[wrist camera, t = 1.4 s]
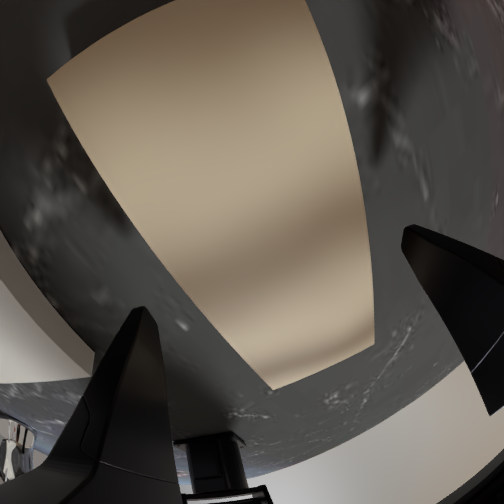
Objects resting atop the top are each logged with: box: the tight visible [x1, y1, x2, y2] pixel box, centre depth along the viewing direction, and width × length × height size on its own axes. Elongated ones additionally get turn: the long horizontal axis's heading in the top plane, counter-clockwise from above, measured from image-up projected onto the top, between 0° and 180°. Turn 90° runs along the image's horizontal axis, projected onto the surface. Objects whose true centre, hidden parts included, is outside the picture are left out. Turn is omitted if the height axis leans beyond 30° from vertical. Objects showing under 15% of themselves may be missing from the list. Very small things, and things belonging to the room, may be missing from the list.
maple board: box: [47, 0, 374, 390], centre depth 9 cm, size 16×6×2 cm, turn 21°
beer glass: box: [0, 414, 37, 484], centre depth 12 cm, size 7×7×15 cm
